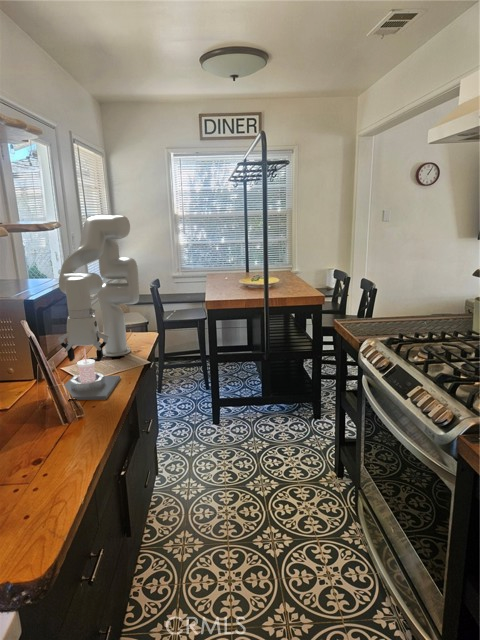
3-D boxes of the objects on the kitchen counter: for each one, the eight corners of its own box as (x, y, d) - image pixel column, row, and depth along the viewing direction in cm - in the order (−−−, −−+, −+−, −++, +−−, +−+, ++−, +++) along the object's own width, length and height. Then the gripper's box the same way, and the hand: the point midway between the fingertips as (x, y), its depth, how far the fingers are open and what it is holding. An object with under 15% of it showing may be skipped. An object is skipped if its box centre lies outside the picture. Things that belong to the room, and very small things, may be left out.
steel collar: (78, 380, 151) (78, 372, 150) (107, 379, 151) (106, 372, 150) (67, 392, 141) (66, 384, 140) (98, 391, 141) (97, 383, 140)
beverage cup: (77, 389, 143) (73, 351, 139) (80, 382, 148) (76, 346, 145) (96, 388, 144) (92, 350, 140) (98, 381, 150) (94, 345, 146)
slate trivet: (72, 379, 155) (72, 376, 154) (120, 378, 155) (120, 375, 155) (52, 400, 137) (52, 397, 137) (106, 399, 138) (106, 396, 137)
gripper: (109, 310, 143) (113, 355, 148) (59, 310, 143) (65, 356, 147) (102, 315, 136) (107, 363, 141) (50, 316, 136) (56, 364, 140)
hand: (86, 359), depth 144 cm, fingers open, 9 cm apart
